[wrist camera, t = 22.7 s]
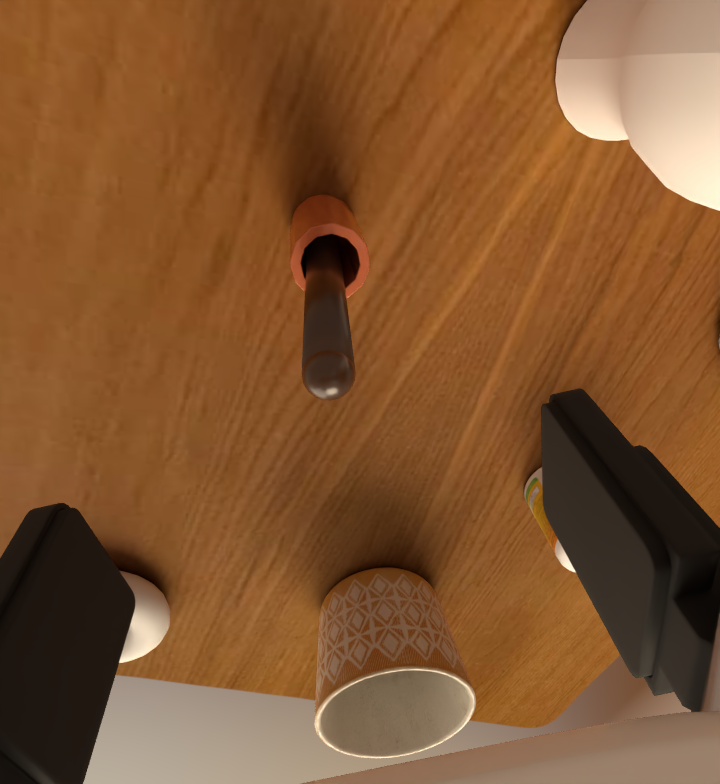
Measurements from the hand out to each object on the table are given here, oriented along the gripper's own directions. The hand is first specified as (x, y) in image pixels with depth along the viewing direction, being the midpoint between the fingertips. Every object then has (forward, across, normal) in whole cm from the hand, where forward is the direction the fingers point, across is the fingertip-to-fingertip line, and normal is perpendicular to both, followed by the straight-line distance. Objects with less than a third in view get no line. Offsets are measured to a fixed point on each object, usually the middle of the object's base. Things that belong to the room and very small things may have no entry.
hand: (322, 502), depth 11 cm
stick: (+24, -1, +1) cm, 24 cm away
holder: (+24, -1, +1) cm, 24 cm away
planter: (+24, +2, +36) cm, 44 cm away
